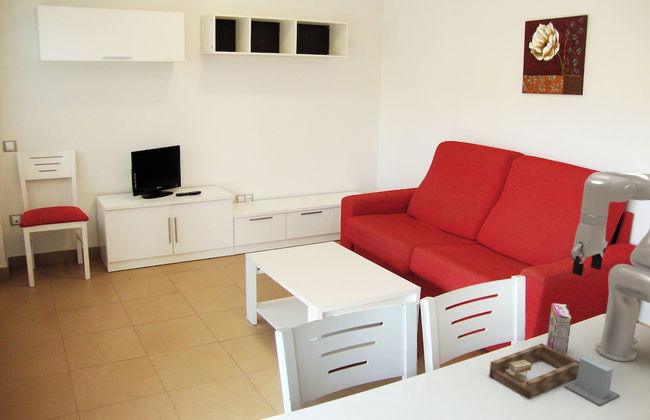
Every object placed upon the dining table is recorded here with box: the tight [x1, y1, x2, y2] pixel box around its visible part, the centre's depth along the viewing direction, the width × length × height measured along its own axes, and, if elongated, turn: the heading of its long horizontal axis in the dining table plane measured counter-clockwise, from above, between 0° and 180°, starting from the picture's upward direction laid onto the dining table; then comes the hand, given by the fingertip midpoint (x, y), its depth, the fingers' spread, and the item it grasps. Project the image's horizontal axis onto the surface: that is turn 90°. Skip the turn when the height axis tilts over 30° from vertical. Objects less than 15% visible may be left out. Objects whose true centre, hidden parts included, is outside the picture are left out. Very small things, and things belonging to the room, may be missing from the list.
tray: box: [488, 343, 580, 400], centre depth 195 cm, size 25×15×5 cm, turn 123°
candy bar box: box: [546, 302, 572, 356], centre depth 208 cm, size 11×5×16 cm, turn 168°
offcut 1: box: [505, 369, 528, 386], centre depth 191 cm, size 3×10×2 cm, turn 16°
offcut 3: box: [514, 371, 528, 383], centre depth 191 cm, size 3×8×2 cm, turn 157°
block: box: [575, 355, 614, 399], centre depth 186 cm, size 3×9×9 cm, turn 33°
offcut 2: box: [509, 360, 533, 373], centre depth 190 cm, size 3×6×2 cm, turn 113°
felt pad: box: [563, 380, 620, 407], centre depth 187 cm, size 10×12×1 cm
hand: (586, 271), depth 193 cm, fingers open, 9 cm apart
